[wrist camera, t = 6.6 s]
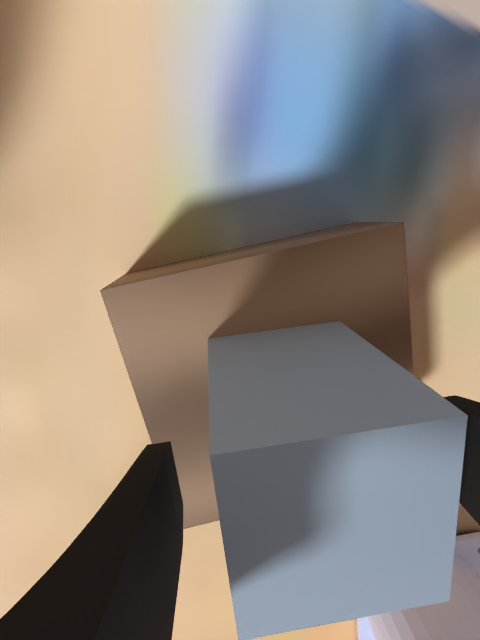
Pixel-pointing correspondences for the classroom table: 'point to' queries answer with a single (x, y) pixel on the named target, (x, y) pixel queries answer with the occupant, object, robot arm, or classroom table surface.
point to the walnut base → (249, 324)
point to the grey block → (329, 478)
